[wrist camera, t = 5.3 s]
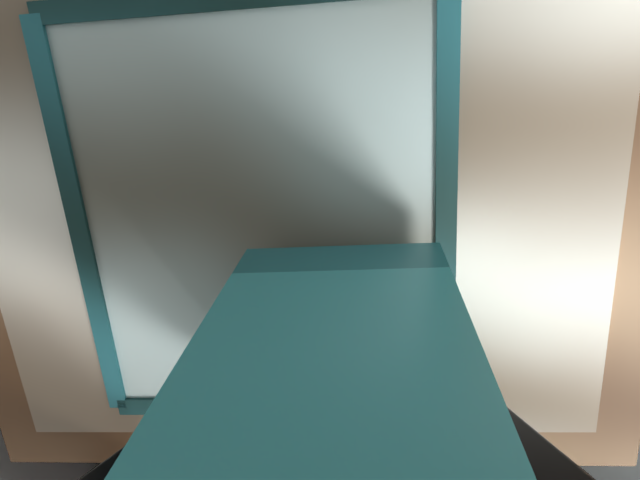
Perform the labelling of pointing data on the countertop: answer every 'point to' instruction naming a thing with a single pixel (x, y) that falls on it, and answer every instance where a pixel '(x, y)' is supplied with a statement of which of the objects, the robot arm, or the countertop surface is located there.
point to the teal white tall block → (331, 377)
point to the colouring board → (315, 190)
